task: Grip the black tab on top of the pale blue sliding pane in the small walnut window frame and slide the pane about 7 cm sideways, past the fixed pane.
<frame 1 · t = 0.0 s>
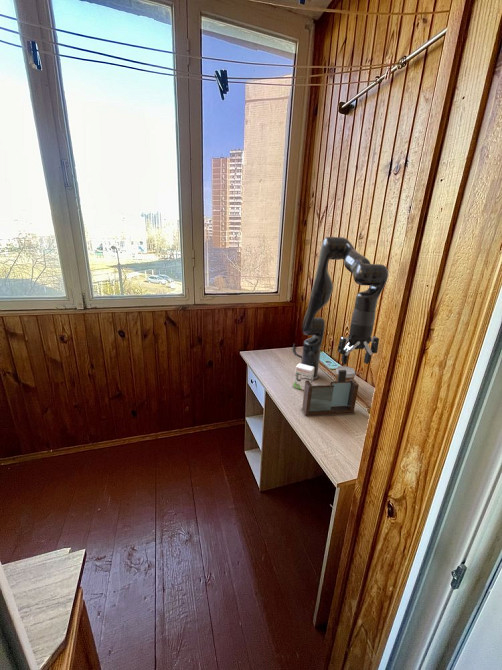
hand: (355, 363, 109), 29 cm above the table, tool pointing down, fingers open, 8 cm apart
ink box: (302, 387, 149), on the table
window frame: (327, 411, 130), on the table
sliding pane: (339, 388, 128), point 11 cm above the table, slide at 0.0 cm
disposable coffee cup: (342, 391, 147), on the table
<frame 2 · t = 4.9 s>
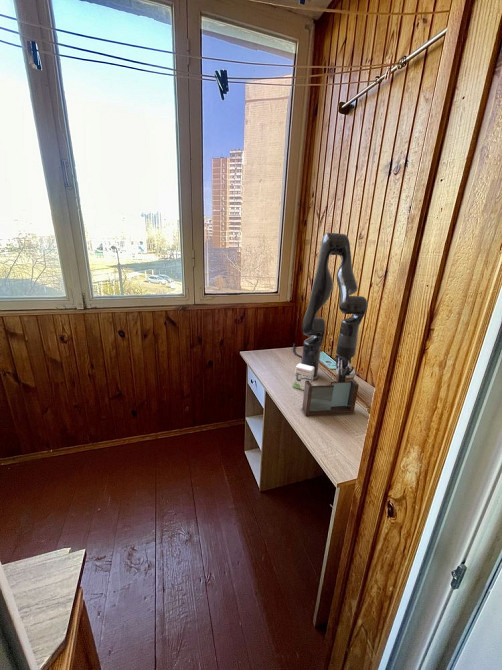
hand: (340, 380, 127), 14 cm above the table, tool pointing down, fingers closed
sliding pane: (339, 388, 128), point 11 cm above the table, slide at 0.0 cm, touching gripper
everything else where it was.
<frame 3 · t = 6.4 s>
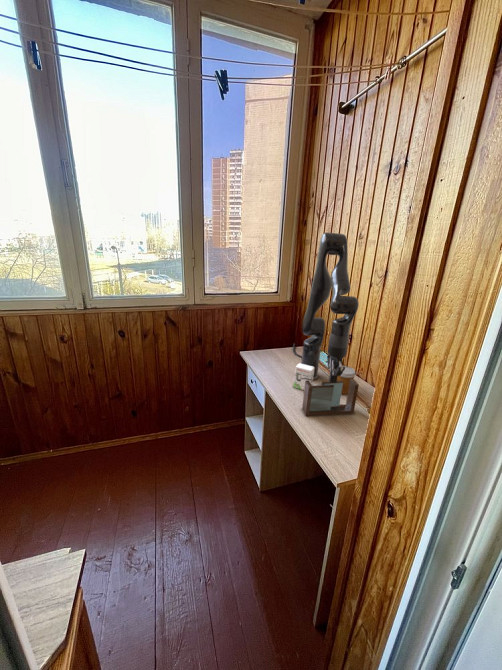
hand: (332, 381, 126), 14 cm above the table, tool pointing down, fingers closed
sliding pane: (331, 389, 128), point 11 cm above the table, slide at 3.8 cm, touching gripper
everything else where it was.
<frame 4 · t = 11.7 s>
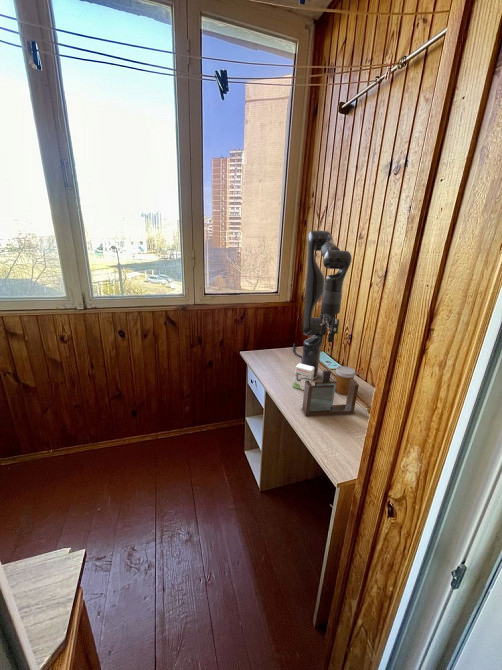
hand: (326, 338, 125), 32 cm above the table, tool pointing down, fingers open, 8 cm apart
sliding pane: (324, 389, 127), point 11 cm above the table, slide at 7.0 cm
everything else where it was.
at the end: sliding pane slide at 7.0 cm; the gripper is holding nothing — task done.
